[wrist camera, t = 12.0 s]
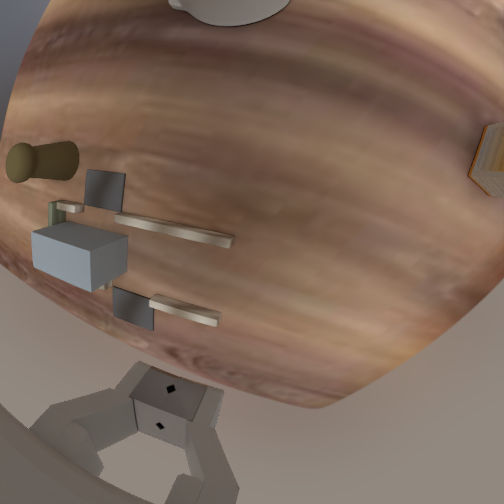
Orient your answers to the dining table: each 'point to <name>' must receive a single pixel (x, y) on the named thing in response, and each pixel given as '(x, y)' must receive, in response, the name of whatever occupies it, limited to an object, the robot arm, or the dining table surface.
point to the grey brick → (80, 254)
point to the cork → (42, 161)
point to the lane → (111, 198)
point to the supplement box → (490, 161)
